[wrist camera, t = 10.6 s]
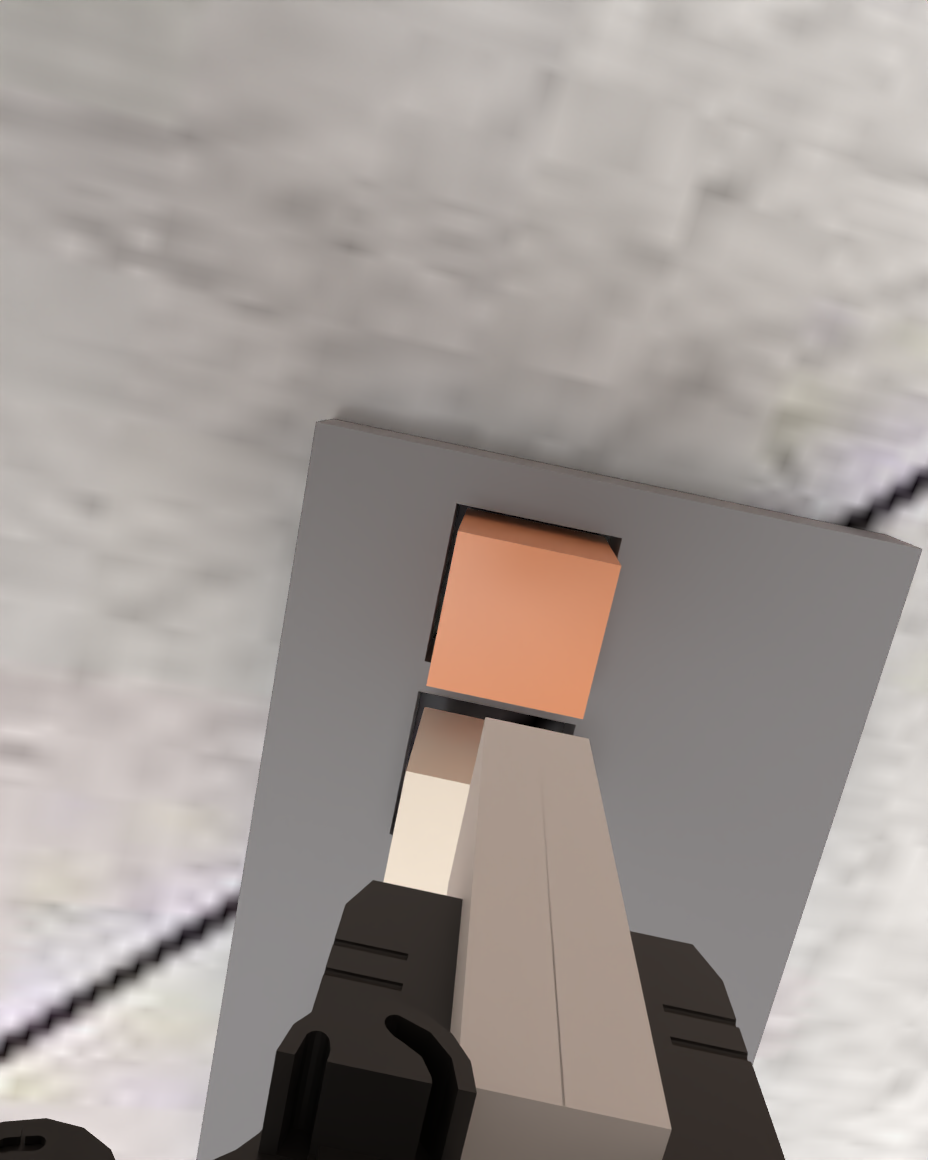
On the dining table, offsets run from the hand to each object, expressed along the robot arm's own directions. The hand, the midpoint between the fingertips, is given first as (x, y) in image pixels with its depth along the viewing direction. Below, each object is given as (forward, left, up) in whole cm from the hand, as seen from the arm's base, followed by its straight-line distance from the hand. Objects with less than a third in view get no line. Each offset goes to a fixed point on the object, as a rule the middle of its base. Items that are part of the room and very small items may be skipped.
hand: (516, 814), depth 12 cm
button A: (0, 0, -16) cm, 16 cm away
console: (+12, +2, -17) cm, 21 cm away
